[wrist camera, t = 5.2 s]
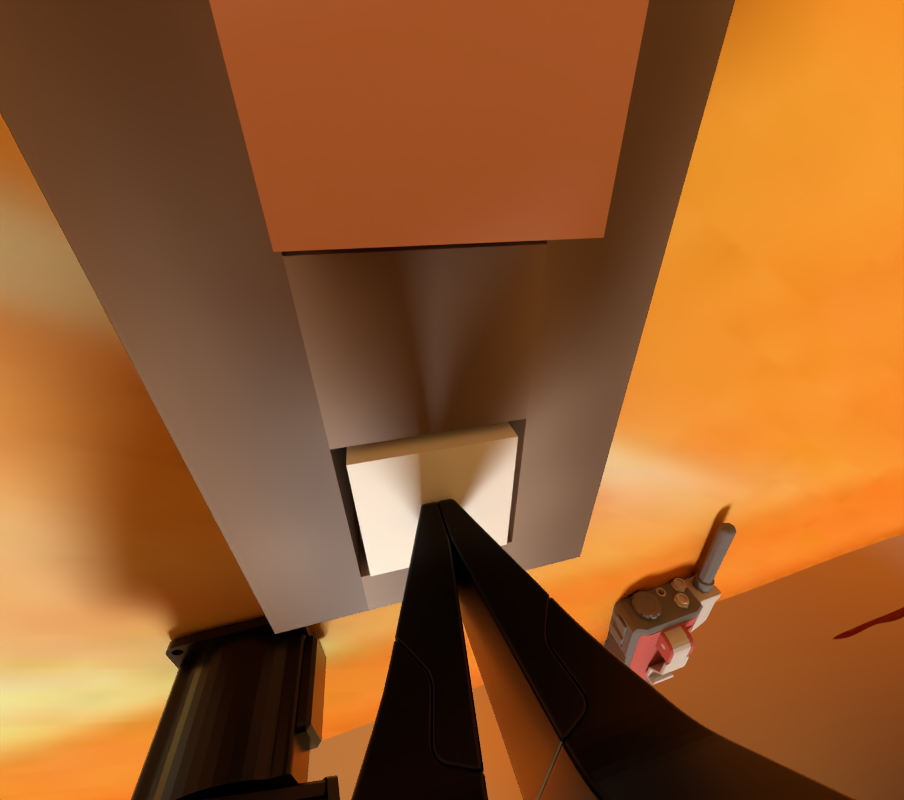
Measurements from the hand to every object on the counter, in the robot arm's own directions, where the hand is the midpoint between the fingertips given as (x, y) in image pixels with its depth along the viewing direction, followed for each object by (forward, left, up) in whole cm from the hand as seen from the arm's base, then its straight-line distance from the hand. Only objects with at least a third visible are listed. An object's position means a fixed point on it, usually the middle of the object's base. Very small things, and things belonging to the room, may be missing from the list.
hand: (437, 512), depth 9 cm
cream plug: (0, 0, -6) cm, 6 cm away
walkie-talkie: (+20, -24, -7) cm, 32 cm away
